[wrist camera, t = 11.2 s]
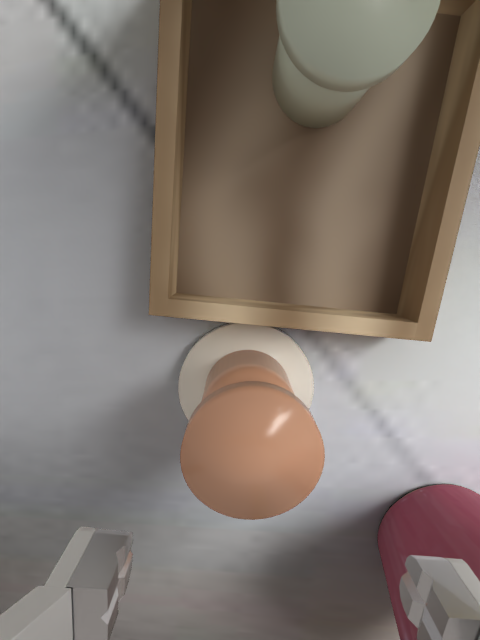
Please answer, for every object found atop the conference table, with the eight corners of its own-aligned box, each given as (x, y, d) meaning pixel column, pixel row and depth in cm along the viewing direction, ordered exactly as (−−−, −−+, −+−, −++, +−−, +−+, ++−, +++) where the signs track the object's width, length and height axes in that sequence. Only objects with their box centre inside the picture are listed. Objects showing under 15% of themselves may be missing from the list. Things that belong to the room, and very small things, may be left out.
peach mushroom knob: (301, 348, 20) (335, 399, 13) (288, 436, 21) (312, 524, 15) (202, 339, 20) (184, 386, 13) (195, 429, 21) (176, 513, 14)
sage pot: (381, 19, 16) (463, -110, 10) (361, 141, 18) (423, 87, 12) (271, 5, 16) (291, -134, 10) (258, 129, 17) (270, 68, 11)
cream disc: (320, 328, 21) (323, 331, 20) (301, 447, 22) (303, 454, 22) (184, 315, 20) (182, 317, 19) (176, 437, 22) (174, 444, 21)
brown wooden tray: (475, 4, 17) (527, -49, 14) (403, 328, 21) (431, 341, 18) (176, -35, 16) (163, -98, 13) (161, 305, 20) (148, 314, 17)
